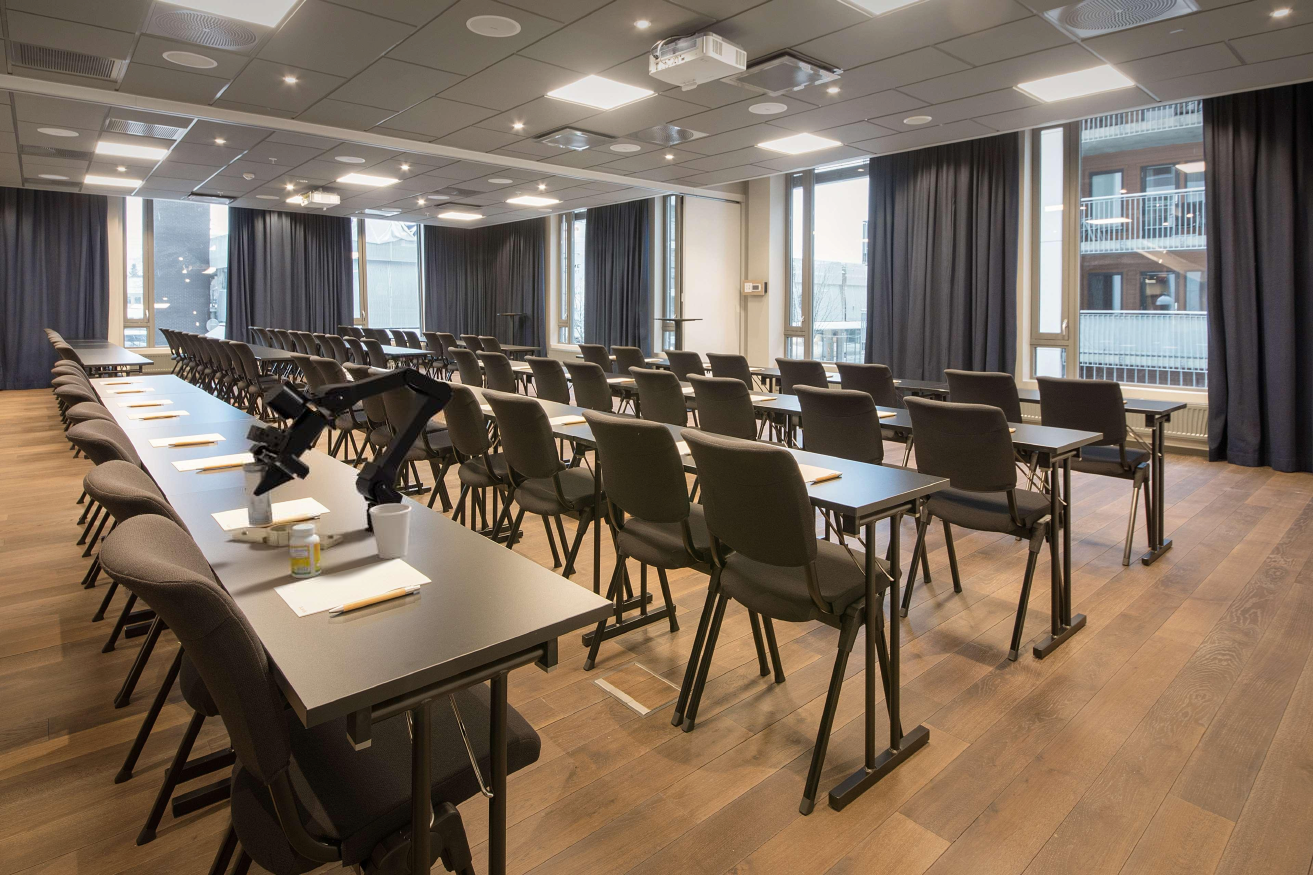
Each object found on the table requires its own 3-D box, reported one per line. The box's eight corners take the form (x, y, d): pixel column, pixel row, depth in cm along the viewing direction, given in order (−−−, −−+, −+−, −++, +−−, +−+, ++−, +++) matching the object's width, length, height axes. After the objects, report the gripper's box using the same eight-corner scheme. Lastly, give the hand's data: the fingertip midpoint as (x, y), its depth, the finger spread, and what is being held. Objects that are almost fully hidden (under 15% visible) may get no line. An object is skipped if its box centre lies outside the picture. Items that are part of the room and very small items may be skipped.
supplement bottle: (299, 580, 146) (295, 532, 145) (286, 574, 150) (282, 526, 148) (327, 573, 150) (323, 525, 149) (313, 567, 154) (310, 520, 152)
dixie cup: (402, 545, 168) (399, 501, 166) (420, 554, 162) (418, 508, 160) (364, 554, 162) (361, 508, 160) (382, 563, 156) (380, 515, 154)
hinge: (346, 539, 172) (345, 526, 171) (321, 550, 164) (320, 537, 163) (256, 531, 178) (255, 518, 177) (229, 541, 170) (227, 528, 170)
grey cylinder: (279, 520, 162) (273, 462, 160) (261, 526, 157) (256, 467, 155) (260, 519, 163) (254, 461, 161) (242, 525, 159) (236, 465, 156)
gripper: (255, 405, 165) (203, 463, 160) (288, 414, 153) (233, 477, 147) (295, 437, 172) (247, 493, 167) (331, 448, 160) (280, 509, 154)
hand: (250, 493), depth 158 cm, fingers closed on grey cylinder, 4 cm apart
